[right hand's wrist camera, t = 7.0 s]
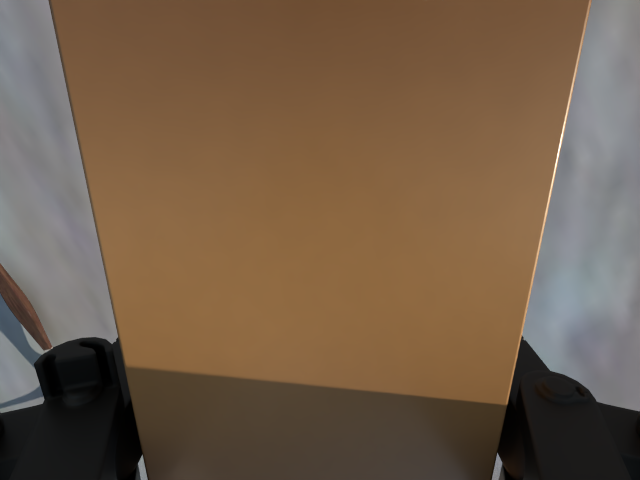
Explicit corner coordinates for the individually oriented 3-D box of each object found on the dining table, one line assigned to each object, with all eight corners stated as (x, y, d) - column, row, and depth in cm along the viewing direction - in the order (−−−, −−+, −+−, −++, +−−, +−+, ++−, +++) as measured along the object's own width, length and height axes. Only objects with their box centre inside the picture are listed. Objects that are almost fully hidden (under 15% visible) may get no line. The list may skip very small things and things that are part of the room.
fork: (-8, 213, 24) (-36, 224, 22) (117, 416, 29) (103, 439, 27) (-47, 225, 24) (-78, 237, 22) (85, 424, 29) (69, 447, 28)
